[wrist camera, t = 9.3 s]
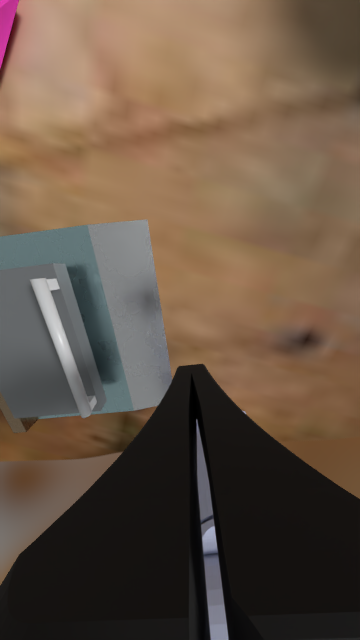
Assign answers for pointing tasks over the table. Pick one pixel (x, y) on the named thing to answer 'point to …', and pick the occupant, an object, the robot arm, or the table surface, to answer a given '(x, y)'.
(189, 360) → the table surface
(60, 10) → the table surface
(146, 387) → the dock bay
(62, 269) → the cabinet door with handle
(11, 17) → the toy
